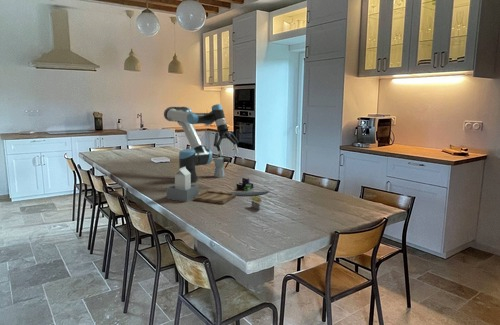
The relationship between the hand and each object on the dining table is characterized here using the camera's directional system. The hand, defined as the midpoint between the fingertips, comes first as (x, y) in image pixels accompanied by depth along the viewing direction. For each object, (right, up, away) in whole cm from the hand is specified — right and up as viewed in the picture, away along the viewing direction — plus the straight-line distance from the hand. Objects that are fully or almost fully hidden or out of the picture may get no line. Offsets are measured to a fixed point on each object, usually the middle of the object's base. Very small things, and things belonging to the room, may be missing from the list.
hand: (229, 154), depth 248 cm
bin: (-27, -27, -28) cm, 48 cm away
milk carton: (-27, -28, -28) cm, 48 cm away
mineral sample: (+11, -25, -5) cm, 28 cm away
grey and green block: (+18, -32, -47) cm, 60 cm away
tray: (-7, -28, -29) cm, 41 cm away
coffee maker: (-9, -17, +35) cm, 40 cm away
